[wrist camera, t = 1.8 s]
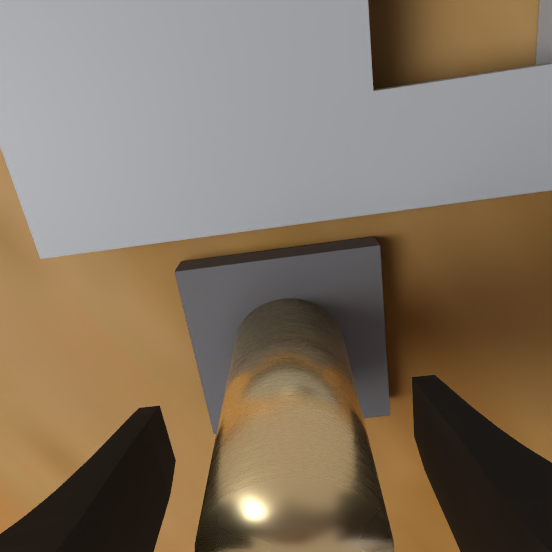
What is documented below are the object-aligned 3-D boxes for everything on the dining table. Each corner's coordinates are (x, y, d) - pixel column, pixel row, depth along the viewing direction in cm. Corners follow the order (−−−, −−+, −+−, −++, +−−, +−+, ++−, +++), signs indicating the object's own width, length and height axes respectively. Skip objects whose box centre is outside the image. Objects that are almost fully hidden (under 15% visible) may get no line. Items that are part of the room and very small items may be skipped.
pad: (374, 236, 16) (380, 245, 15) (384, 399, 18) (390, 415, 18) (180, 261, 16) (174, 271, 15) (217, 417, 19) (213, 433, 18)
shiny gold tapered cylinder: (338, 291, 16) (389, 469, 8) (348, 387, 17) (398, 611, 10) (225, 305, 16) (175, 490, 8) (244, 398, 17) (215, 625, 10)
